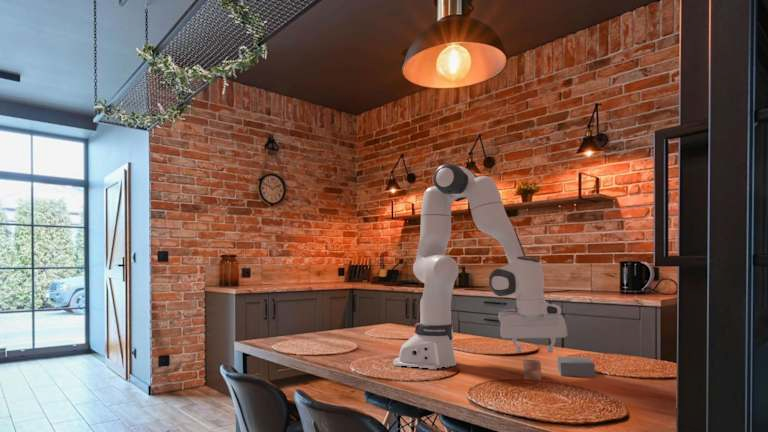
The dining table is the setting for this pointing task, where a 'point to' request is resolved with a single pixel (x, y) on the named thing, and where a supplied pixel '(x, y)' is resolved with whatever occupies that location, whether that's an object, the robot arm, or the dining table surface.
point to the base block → (576, 366)
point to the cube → (532, 369)
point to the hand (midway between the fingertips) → (534, 352)
